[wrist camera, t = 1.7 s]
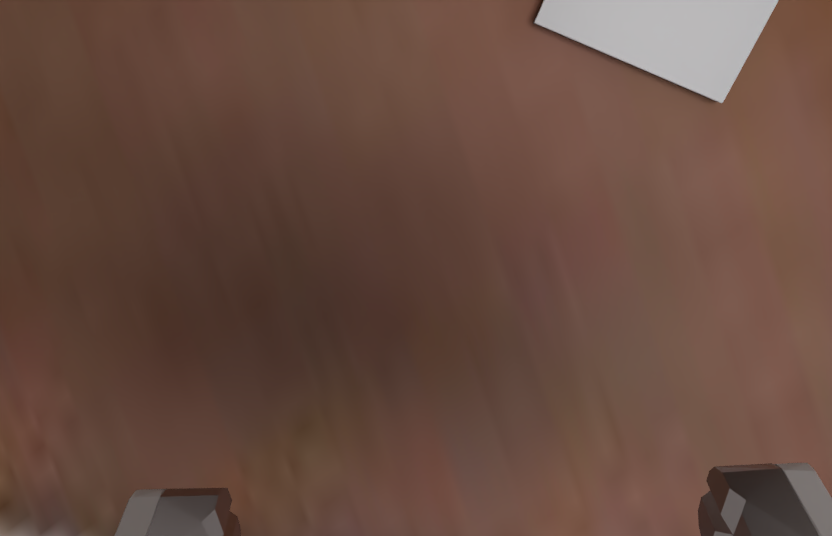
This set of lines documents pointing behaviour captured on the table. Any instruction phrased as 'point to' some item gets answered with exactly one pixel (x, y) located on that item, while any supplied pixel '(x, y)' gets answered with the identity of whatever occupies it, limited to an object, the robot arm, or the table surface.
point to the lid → (667, 36)
